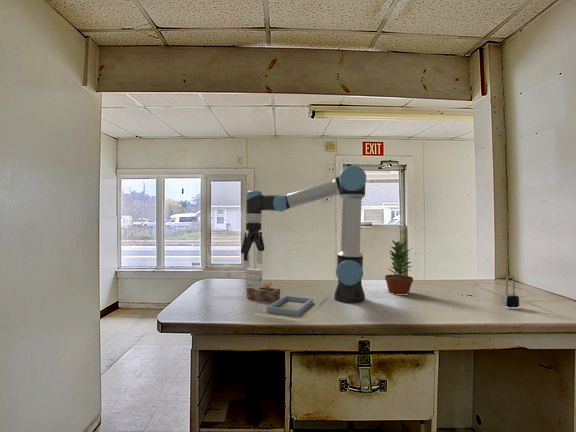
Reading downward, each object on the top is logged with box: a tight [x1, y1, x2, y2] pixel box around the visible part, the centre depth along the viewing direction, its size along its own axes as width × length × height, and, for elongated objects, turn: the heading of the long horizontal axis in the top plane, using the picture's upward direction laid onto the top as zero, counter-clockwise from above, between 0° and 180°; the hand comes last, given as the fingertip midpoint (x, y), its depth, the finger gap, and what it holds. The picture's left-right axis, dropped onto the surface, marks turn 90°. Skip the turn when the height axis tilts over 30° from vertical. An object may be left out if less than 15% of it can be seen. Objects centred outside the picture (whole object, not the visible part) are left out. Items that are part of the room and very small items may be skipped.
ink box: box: [245, 268, 263, 291], centre depth 173 cm, size 9×5×12 cm, turn 84°
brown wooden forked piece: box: [246, 286, 281, 303], centre depth 152 cm, size 16×7×5 cm, turn 69°
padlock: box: [500, 275, 520, 307], centre depth 146 cm, size 7×4×15 cm, turn 93°
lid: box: [253, 281, 273, 304], centre depth 151 cm, size 13×13×9 cm
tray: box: [266, 295, 314, 319], centre depth 139 cm, size 14×21×3 cm, turn 159°
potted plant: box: [384, 239, 414, 295], centre depth 172 cm, size 15×15×30 cm
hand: (253, 265), depth 154 cm, fingers open, 13 cm apart
